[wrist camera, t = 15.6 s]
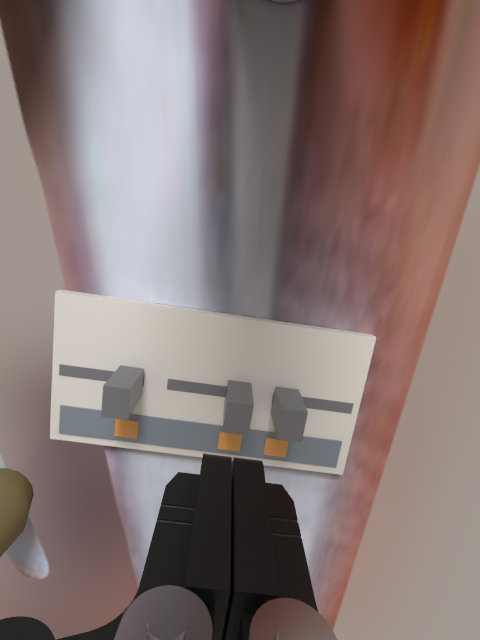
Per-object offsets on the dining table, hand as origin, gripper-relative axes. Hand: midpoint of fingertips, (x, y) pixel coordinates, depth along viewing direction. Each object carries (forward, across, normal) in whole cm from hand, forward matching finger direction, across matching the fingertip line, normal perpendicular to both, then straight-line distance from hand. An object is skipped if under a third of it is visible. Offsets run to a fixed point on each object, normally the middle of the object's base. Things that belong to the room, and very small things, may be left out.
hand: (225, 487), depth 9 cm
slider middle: (+27, -2, +10) cm, 29 cm away
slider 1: (+27, +9, +10) cm, 30 cm away
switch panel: (+29, +1, +10) cm, 31 cm away
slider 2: (+27, -7, +10) cm, 30 cm away
